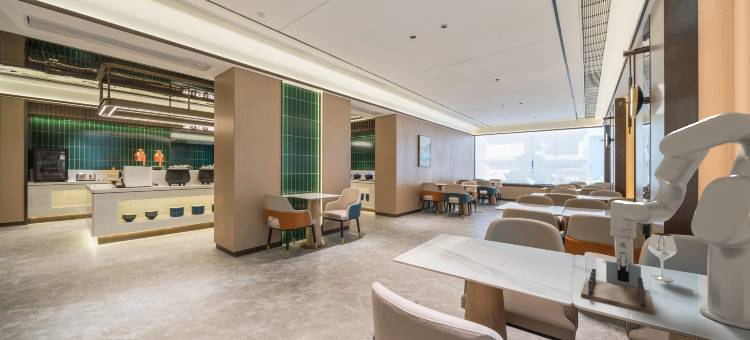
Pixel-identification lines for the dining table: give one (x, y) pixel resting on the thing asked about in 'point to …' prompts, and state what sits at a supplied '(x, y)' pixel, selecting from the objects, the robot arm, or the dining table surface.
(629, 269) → the pale blue upright panel
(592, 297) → the rack
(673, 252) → the wineglass
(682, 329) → the dining table surface
